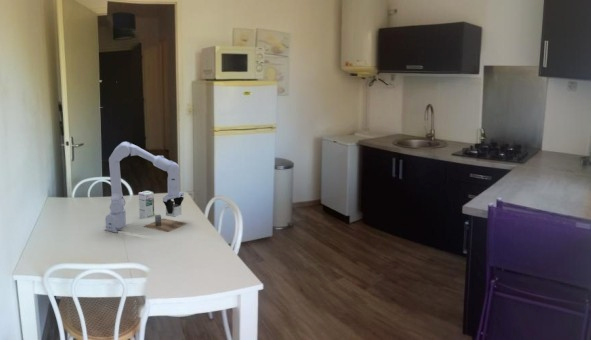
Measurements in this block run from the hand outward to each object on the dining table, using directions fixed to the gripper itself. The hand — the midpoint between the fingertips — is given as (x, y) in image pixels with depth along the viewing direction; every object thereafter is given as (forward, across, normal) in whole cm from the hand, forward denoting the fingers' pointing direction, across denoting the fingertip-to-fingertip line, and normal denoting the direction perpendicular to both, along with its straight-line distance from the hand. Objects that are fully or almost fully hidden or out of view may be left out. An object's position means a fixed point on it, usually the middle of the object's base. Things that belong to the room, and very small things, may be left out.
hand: (173, 212), depth 248 cm
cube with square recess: (+2, 0, 0) cm, 2 cm away
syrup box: (+8, +5, +22) cm, 24 cm away
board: (+8, -3, +3) cm, 9 cm away
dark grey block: (+7, -5, +6) cm, 10 cm away
